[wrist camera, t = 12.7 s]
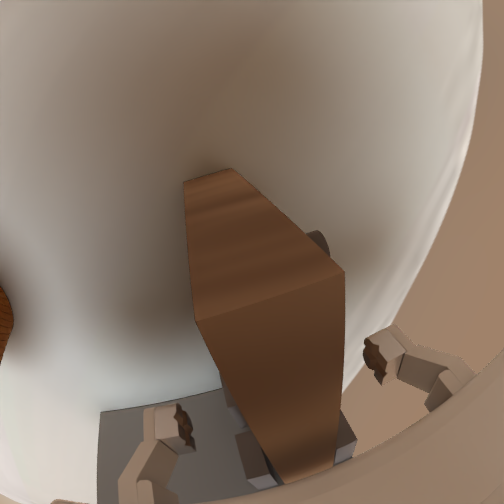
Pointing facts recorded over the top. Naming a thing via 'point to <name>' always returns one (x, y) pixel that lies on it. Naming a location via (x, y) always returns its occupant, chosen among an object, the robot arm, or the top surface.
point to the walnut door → (269, 318)
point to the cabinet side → (200, 451)
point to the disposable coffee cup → (4, 322)
